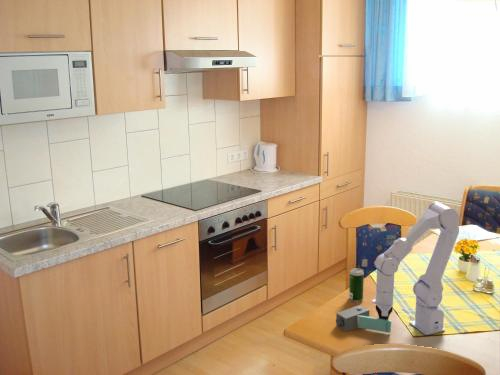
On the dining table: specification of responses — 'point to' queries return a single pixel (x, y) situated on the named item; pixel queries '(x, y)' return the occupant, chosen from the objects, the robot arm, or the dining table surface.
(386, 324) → the side door
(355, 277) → the beer can
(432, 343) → the dining table surface
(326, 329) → the dining table surface
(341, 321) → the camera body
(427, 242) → the dining table surface
